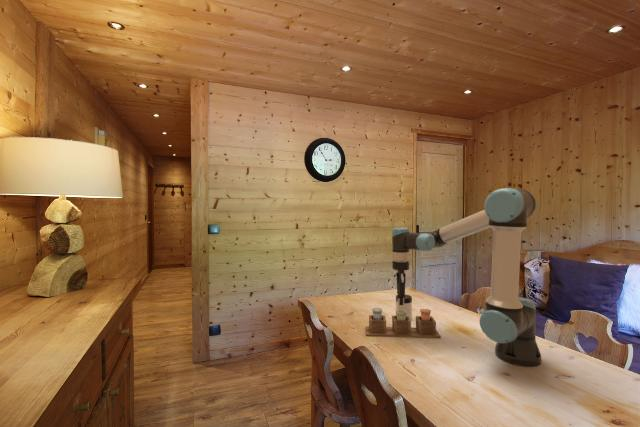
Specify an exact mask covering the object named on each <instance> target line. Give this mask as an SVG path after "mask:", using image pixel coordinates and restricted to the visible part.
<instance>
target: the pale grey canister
mask: <svg viewBox="0 0 640 427" xmlns="http://www.w3.org/2000/svg"><path fill="white" fill-rule="evenodd" d="M371 309H372V310H371V311H372V315H373V320H382V314H383V309H382V308H380V307H374V308H371Z"/></svg>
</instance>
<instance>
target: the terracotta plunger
mask: <svg viewBox="0 0 640 427" xmlns="http://www.w3.org/2000/svg"><path fill="white" fill-rule="evenodd" d="M419 312H420V316H421V321H430V316H431V312H432V310H431V309H430V308H429V309H428V308H421V309H420V310H419Z"/></svg>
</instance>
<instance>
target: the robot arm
mask: <svg viewBox="0 0 640 427" xmlns="http://www.w3.org/2000/svg"><path fill="white" fill-rule="evenodd" d="M483 206H484V207H483V208H484V209H483V210H481V211H478V212H475V213H472V214H471V215H468V216H466V217H464V218H461V219H459V220H457V221H454V222H452V223H450V224H447V225H445V226H443V227H440V228H437V229H435V230H433V231H427V232H410V229H409V228H408V227H394V228H392V236H391V243H392V249H391V250H392V251H391V258H392V259H391V260H392V264H391V265H392V269H393V270H395V271H396V272H395V277H396V295H398V296H397V298H398V312H404V298H405V295H406V281H407V280H406V277H407V276H406V275H407V274H406V272H405V271H408V270H409V269H410V262H409V260H410V257H409V256H411V253H410V250H415V251H416V250H417V251H421V252H430V251H432V250H433V249H436V248H441V247H442V248H443V247H445V246H446V245H447V244H450V243H453V242H455V241H458V240H461V239H463V238H466V237H468V236H471V235H474V234H477V233H480V232H482V231H484V230H487V229H492V250H491V251H492V254H491V256H492V257H491V272H490V273H491V276H490V277H491V278H490V279H491V280H490V295H489V296H488V297H487V298H486V299H485V305H484V306H485V307H484V311H483V312H482V314H481V316H480V317H479V326H480V329H481V331H482V332H483V333H484V334H485V336H486V337H487V338H488V339H489V340H491V341H493V342H495V343H496V344H495V346H494V347H495V348H494V353H495V356H496V357H497V358H498V359H501V361H505V362H507V363H510V364H512V365H517V366H521V367H523V366H524V367H535V366H538V365H541V364H542V355H541V354H542V353H541V351H540V348H539V346H538V343H537V341H536V340H537V339H536V312H537V308H536V303H535V301H533V300H532V299H529V298H526V297H520V296H519V289H520V288H519V286H520V268H521V267H520V266H521V246H522V242H521V241H522V232H523V231H524V230H526V229H527V227H528V218H530V217H531V216H533V214H534V213H535V211H536V208H537V201H536V197H535V196H534V195H533V194H532V193H531V192H530V191H527V190H525V189H522V188H513V187H503V188H498V189H496V190H493V191H492V192H491V193H490V194H488V196H487V197H486V199H485V201H484V204H483Z"/></svg>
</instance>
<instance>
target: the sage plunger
mask: <svg viewBox="0 0 640 427" xmlns="http://www.w3.org/2000/svg"><path fill="white" fill-rule="evenodd" d="M396 314H397V320H406V311H404V312H398V310H397V311H396V310H395V315H396Z"/></svg>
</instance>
